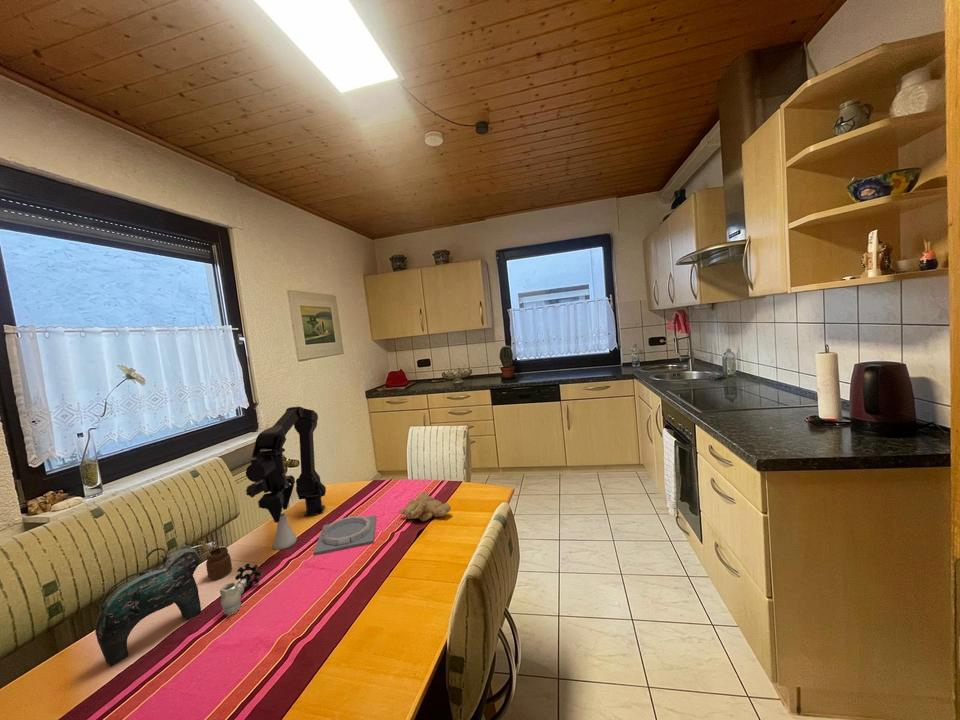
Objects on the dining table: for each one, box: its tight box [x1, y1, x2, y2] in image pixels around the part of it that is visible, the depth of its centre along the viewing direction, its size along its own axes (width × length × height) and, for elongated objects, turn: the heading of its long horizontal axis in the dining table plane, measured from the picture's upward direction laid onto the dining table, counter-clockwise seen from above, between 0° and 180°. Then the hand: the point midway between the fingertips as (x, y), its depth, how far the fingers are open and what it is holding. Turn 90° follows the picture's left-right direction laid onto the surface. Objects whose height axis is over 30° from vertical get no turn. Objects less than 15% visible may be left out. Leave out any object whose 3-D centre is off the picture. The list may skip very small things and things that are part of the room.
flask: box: [272, 512, 298, 551], centre depth 127 cm, size 7×7×10 cm
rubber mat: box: [312, 515, 377, 556], centre depth 129 cm, size 18×18×1 cm
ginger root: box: [398, 491, 452, 522], centre depth 138 cm, size 16×16×8 cm
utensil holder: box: [200, 534, 233, 581], centre depth 113 cm, size 6×6×12 cm
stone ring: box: [322, 515, 371, 546], centre depth 129 cm, size 15×15×2 cm
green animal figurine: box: [94, 541, 202, 667], centre depth 90 cm, size 20×6×20 cm, turn 150°
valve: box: [219, 562, 263, 617], centre depth 101 cm, size 7×7×12 cm
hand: (281, 515), depth 126 cm, fingers open, 9 cm apart
